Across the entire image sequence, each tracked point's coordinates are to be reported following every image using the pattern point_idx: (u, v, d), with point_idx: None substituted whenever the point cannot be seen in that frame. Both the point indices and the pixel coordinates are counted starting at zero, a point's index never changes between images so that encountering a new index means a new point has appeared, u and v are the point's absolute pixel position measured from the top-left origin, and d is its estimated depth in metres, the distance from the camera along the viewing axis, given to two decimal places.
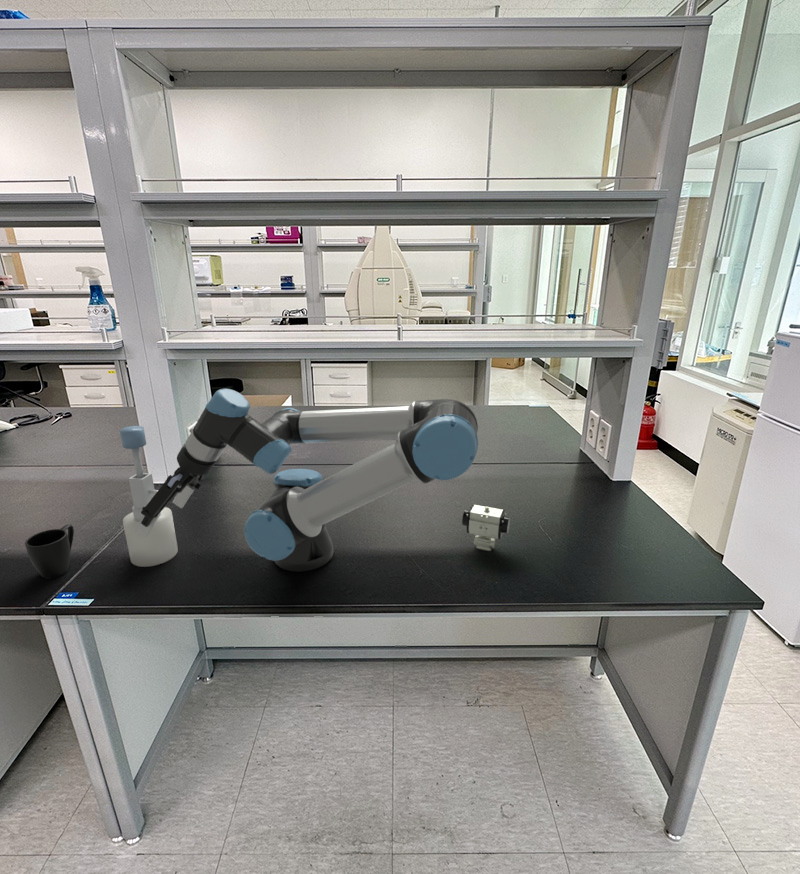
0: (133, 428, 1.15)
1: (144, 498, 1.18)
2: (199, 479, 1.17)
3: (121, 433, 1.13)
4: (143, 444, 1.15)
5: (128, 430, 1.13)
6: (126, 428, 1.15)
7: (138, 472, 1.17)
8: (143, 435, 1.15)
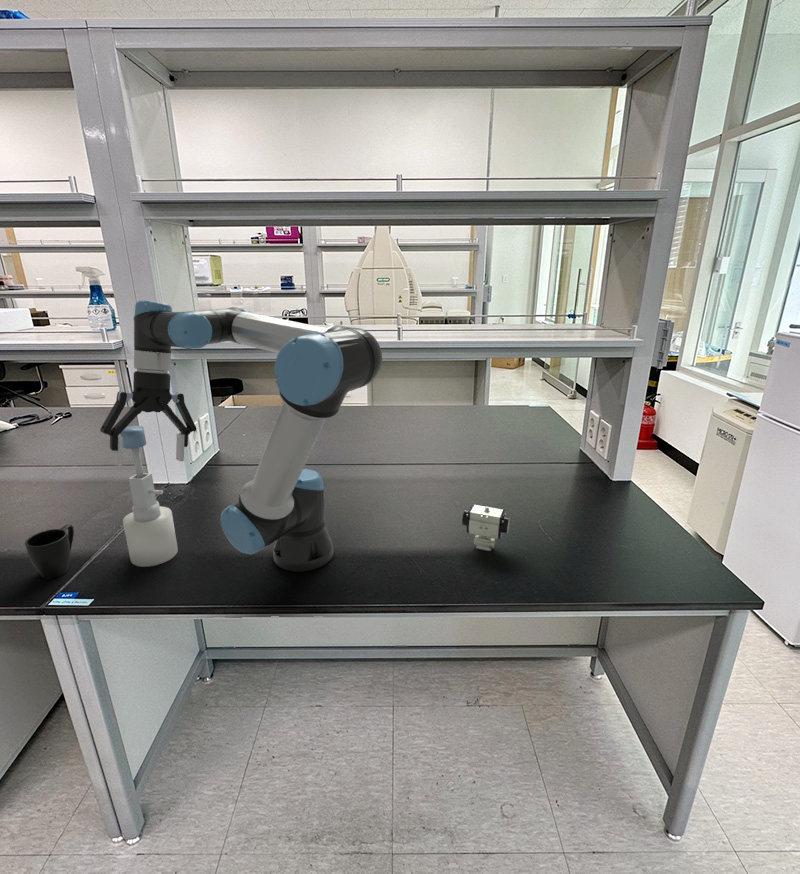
0: (133, 428, 1.15)
1: (144, 498, 1.18)
2: (189, 426, 1.18)
3: (121, 433, 1.13)
4: (143, 444, 1.15)
5: (128, 430, 1.13)
6: (126, 428, 1.15)
7: (138, 472, 1.17)
8: (143, 435, 1.15)
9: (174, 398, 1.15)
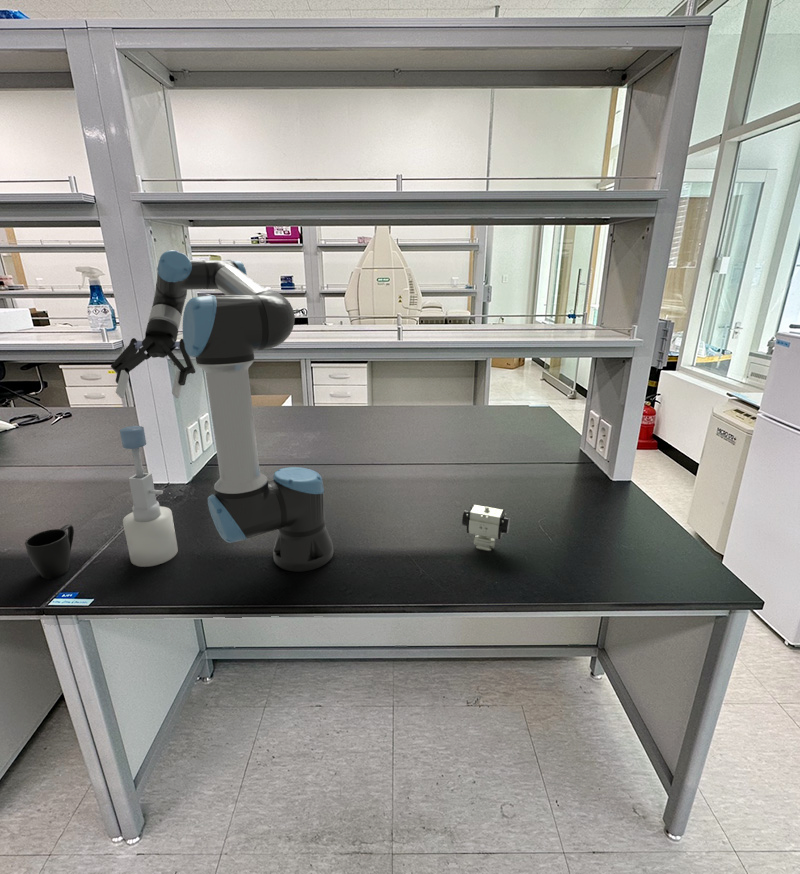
0: (133, 428, 1.15)
1: (144, 498, 1.18)
2: None
3: (121, 433, 1.13)
4: (143, 444, 1.15)
5: (128, 430, 1.13)
6: (126, 428, 1.15)
7: (138, 472, 1.17)
8: (143, 435, 1.15)
9: (177, 344, 1.28)
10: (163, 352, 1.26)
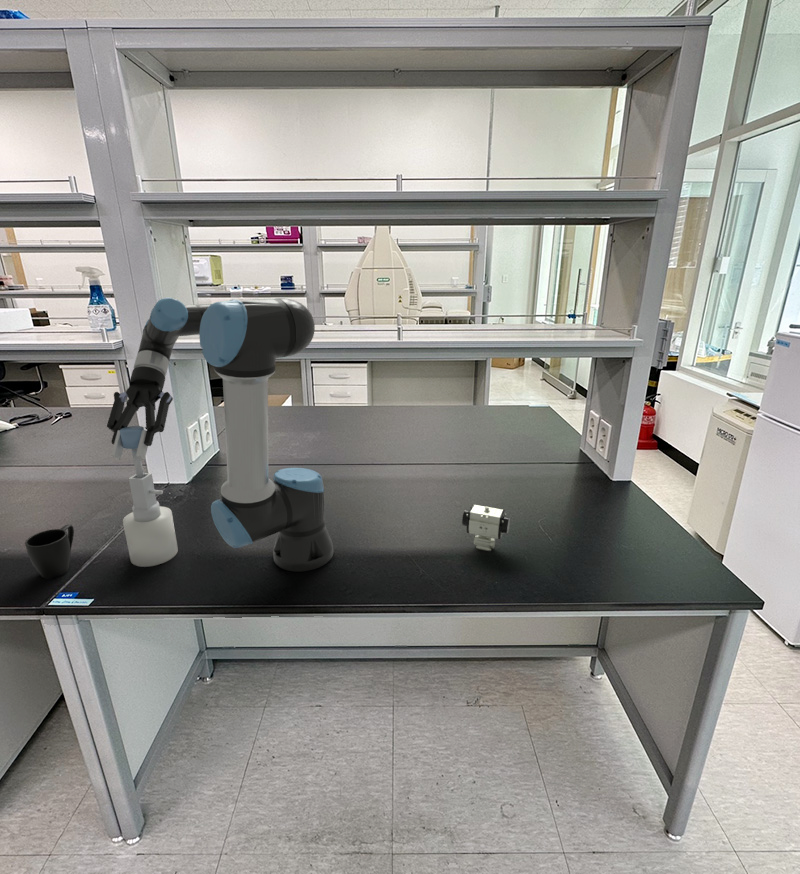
0: (133, 428, 1.15)
1: (144, 498, 1.18)
2: None
3: (121, 433, 1.13)
4: None
5: (128, 430, 1.13)
6: (126, 428, 1.15)
7: (138, 472, 1.17)
8: None
9: (161, 395, 1.20)
10: None
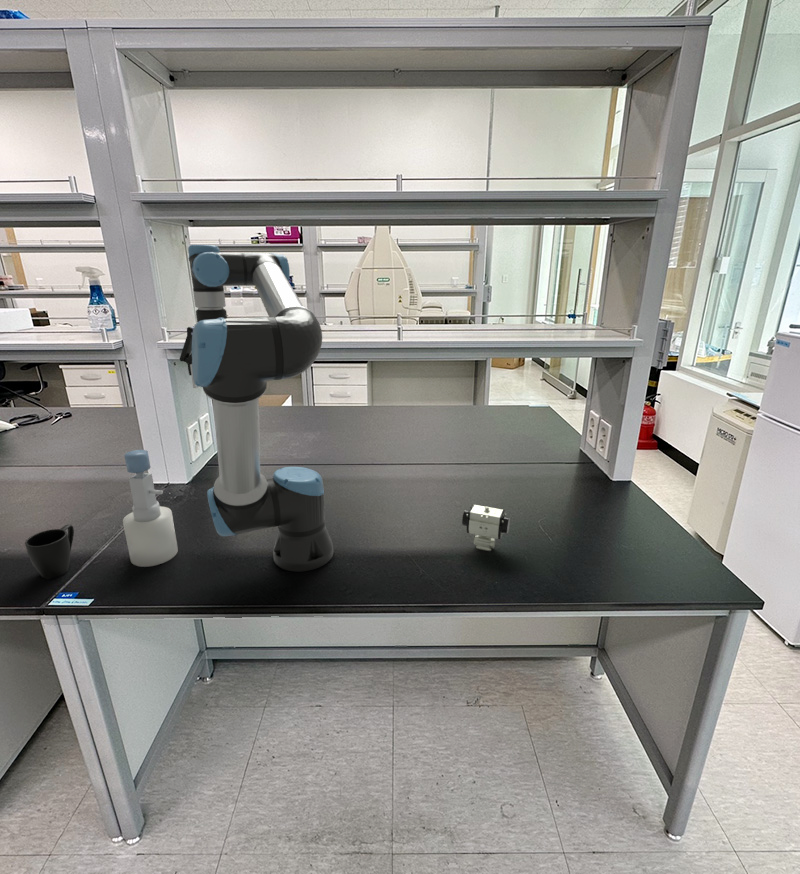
0: (137, 452, 1.17)
1: (144, 498, 1.18)
2: None
3: (126, 458, 1.15)
4: (147, 468, 1.17)
5: (132, 455, 1.15)
6: (130, 452, 1.17)
7: None
8: (147, 459, 1.17)
9: None
10: None
